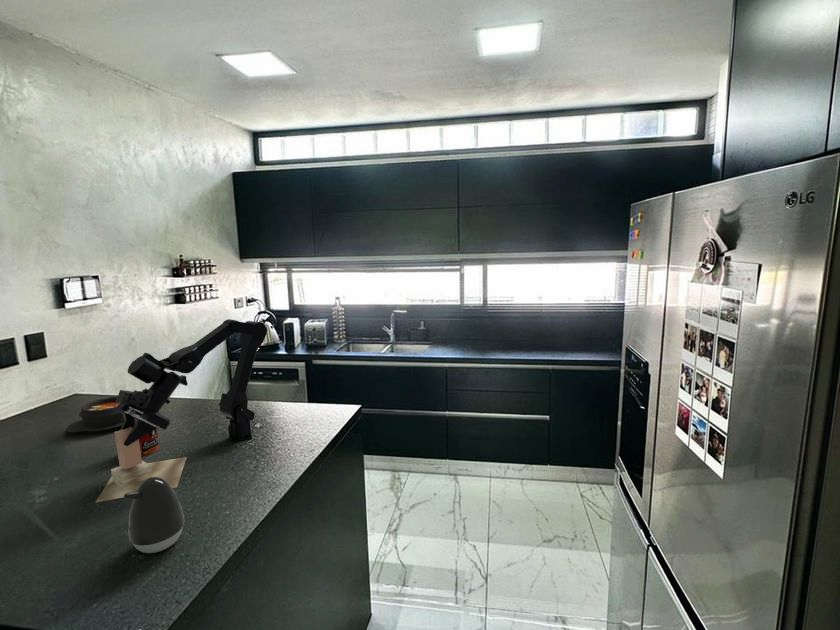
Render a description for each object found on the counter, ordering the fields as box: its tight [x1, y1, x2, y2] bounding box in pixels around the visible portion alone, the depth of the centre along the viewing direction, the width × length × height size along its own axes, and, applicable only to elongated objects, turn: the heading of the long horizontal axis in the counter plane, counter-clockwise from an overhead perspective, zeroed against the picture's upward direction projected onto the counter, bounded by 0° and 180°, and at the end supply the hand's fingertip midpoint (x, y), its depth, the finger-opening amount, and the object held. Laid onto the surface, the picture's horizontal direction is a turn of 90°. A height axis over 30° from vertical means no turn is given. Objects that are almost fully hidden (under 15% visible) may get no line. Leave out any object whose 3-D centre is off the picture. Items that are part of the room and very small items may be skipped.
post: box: [113, 427, 143, 469], centre depth 117 cm, size 4×4×10 cm
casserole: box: [65, 396, 125, 434], centre depth 158 cm, size 25×19×8 cm
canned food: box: [139, 417, 160, 457], centre depth 135 cm, size 8×8×11 cm
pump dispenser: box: [123, 477, 185, 554], centre depth 92 cm, size 10×10×15 cm
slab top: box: [110, 460, 152, 483], centre depth 119 cm, size 7×7×2 cm
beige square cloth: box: [95, 456, 188, 503], centre depth 120 cm, size 18×18×1 cm
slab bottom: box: [111, 472, 152, 489], centre depth 119 cm, size 7×7×2 cm
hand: (121, 443), depth 116 cm, fingers closed on post, 4 cm apart
